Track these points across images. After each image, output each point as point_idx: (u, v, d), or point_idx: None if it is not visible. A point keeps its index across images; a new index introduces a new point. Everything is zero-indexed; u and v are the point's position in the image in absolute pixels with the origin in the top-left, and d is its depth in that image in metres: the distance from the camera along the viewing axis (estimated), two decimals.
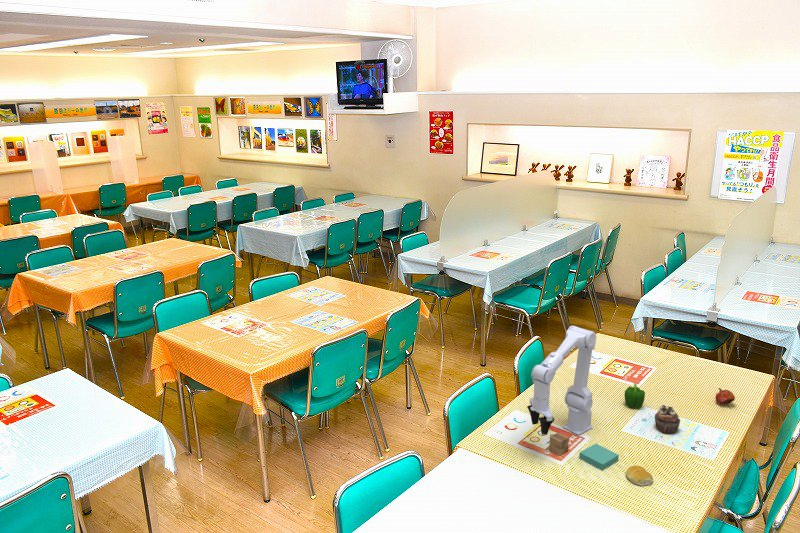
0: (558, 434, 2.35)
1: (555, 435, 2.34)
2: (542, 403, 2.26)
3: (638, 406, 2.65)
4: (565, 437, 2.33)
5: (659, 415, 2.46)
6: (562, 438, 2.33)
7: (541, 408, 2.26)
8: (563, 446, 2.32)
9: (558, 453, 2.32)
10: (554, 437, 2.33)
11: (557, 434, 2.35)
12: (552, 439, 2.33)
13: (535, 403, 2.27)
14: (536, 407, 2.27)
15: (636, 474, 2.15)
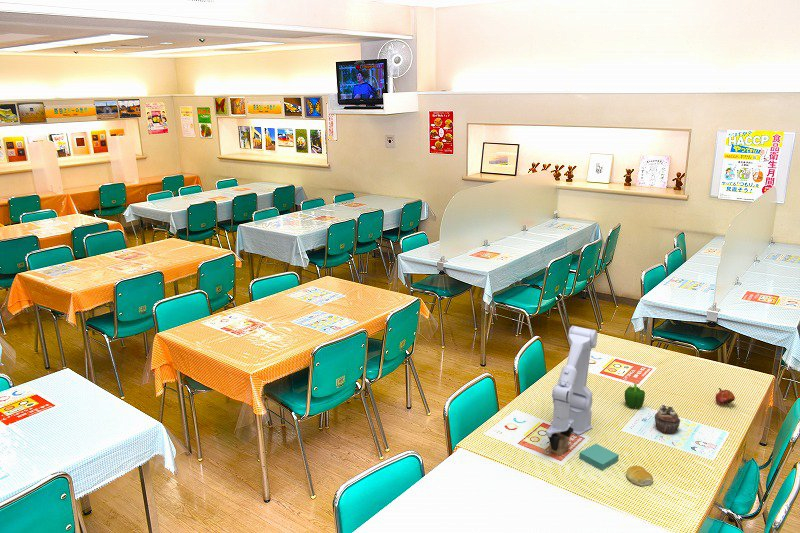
0: (558, 434, 2.35)
1: None
2: (554, 420, 2.30)
3: (638, 406, 2.65)
4: (565, 437, 2.33)
5: (659, 415, 2.46)
6: (562, 437, 2.33)
7: (553, 424, 2.31)
8: (563, 446, 2.32)
9: (558, 453, 2.32)
10: None
11: None
12: None
13: None
14: (552, 422, 2.33)
15: (636, 474, 2.15)
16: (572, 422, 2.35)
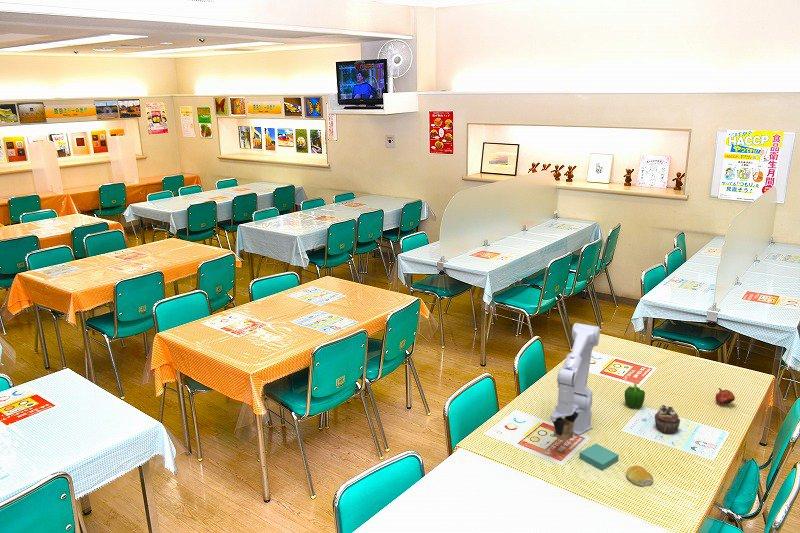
0: (563, 419, 2.33)
1: None
2: (559, 404, 2.28)
3: (638, 406, 2.65)
4: (570, 422, 2.31)
5: (659, 415, 2.46)
6: (567, 423, 2.30)
7: (558, 408, 2.29)
8: (568, 431, 2.30)
9: (563, 438, 2.29)
10: None
11: (562, 419, 2.33)
12: None
13: None
14: None
15: (636, 474, 2.15)
16: (577, 407, 2.32)
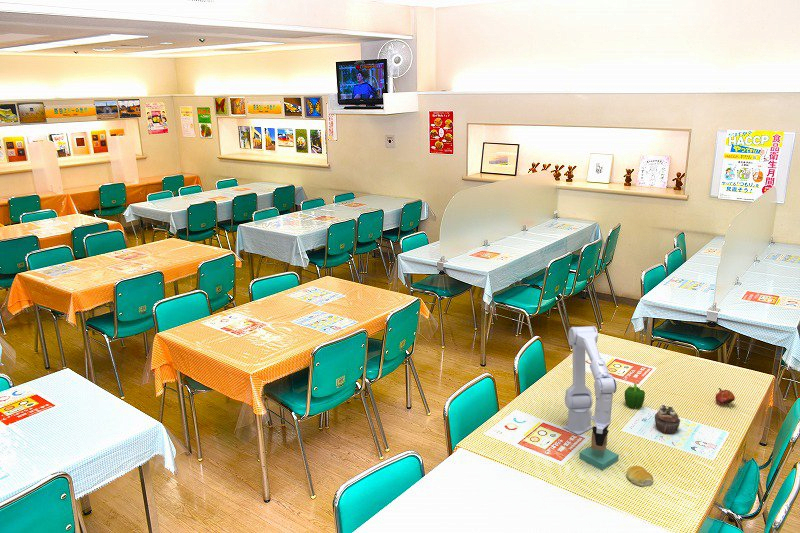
0: None
1: None
2: (599, 415, 2.22)
3: (638, 406, 2.65)
4: None
5: (659, 415, 2.46)
6: None
7: (598, 419, 2.23)
8: (606, 440, 2.25)
9: (603, 448, 2.24)
10: None
11: None
12: None
13: None
14: (594, 417, 2.24)
15: (636, 474, 2.15)
16: None
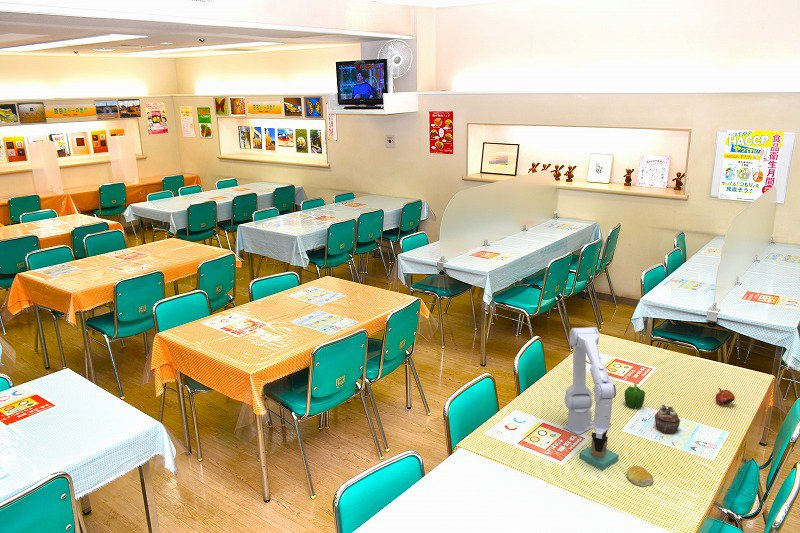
0: None
1: None
2: (599, 419, 2.22)
3: (638, 406, 2.65)
4: None
5: (659, 415, 2.46)
6: None
7: (597, 424, 2.23)
8: None
9: (603, 456, 2.25)
10: None
11: None
12: None
13: (594, 418, 2.25)
14: (594, 422, 2.25)
15: (637, 474, 2.15)
16: None
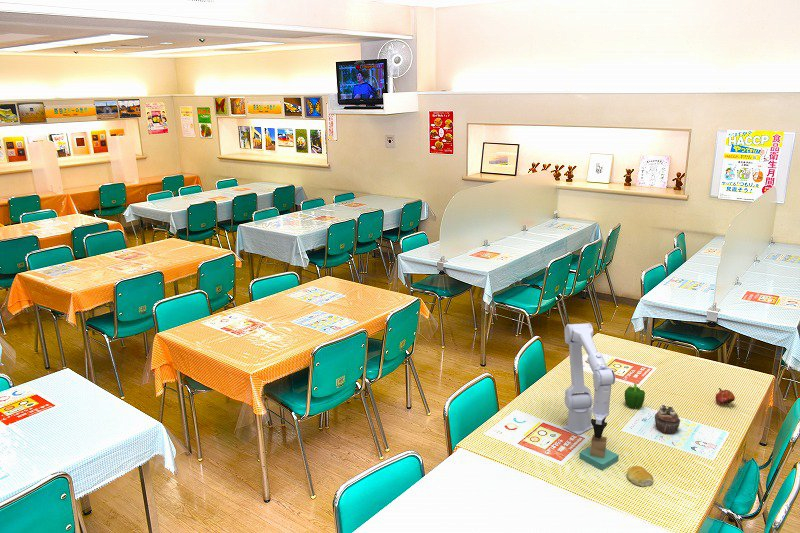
0: None
1: (594, 438, 2.27)
2: (598, 406, 2.24)
3: (638, 406, 2.65)
4: (603, 437, 2.28)
5: (659, 415, 2.46)
6: (602, 439, 2.27)
7: (596, 410, 2.25)
8: (605, 447, 2.26)
9: (602, 455, 2.25)
10: (595, 440, 2.26)
11: (594, 436, 2.28)
12: (594, 443, 2.25)
13: (593, 404, 2.27)
14: (593, 408, 2.27)
15: (637, 474, 2.15)
16: None
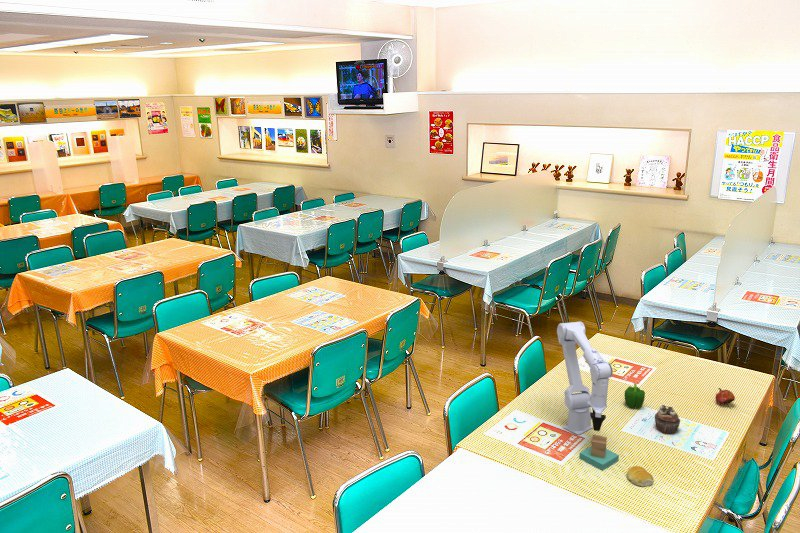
0: (595, 436, 2.29)
1: (594, 438, 2.27)
2: (596, 399, 2.29)
3: (638, 406, 2.65)
4: (604, 437, 2.28)
5: (659, 415, 2.46)
6: (602, 439, 2.27)
7: (595, 403, 2.30)
8: None
9: (603, 455, 2.25)
10: (596, 440, 2.26)
11: (594, 437, 2.28)
12: (595, 443, 2.25)
13: (591, 398, 2.32)
14: (591, 402, 2.31)
15: (637, 475, 2.14)
16: None
